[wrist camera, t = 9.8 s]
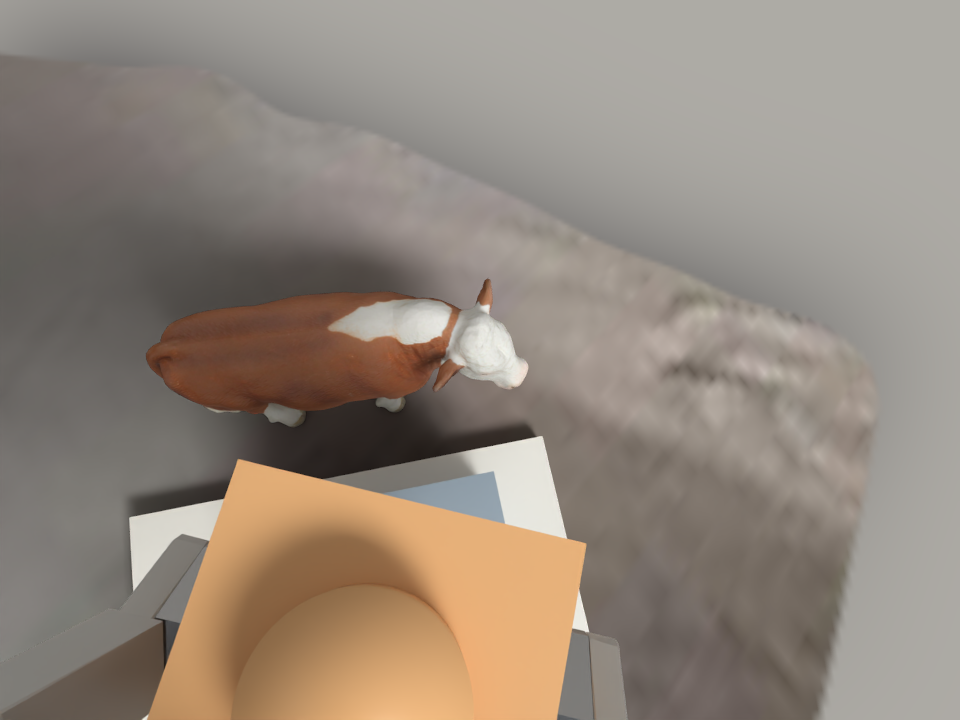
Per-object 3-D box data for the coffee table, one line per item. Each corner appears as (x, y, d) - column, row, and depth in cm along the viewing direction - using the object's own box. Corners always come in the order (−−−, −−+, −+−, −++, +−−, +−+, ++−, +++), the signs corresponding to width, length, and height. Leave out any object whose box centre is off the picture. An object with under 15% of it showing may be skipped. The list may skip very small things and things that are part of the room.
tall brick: (465, 741, 15) (522, 1041, 6) (281, 696, 15) (43, 927, 6) (506, 548, 16) (603, 542, 7) (337, 508, 16) (216, 448, 7)
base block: (311, 714, 23) (286, 750, 19) (288, 524, 25) (261, 518, 21) (519, 662, 24) (539, 685, 20) (482, 484, 26) (493, 470, 22)
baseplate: (172, 1064, 21) (160, 1088, 20) (140, 518, 26) (129, 517, 25) (649, 911, 23) (659, 927, 22) (538, 439, 28) (542, 436, 27)
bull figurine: (508, 430, 28) (542, 383, 20) (199, 435, 27) (109, 388, 19) (504, 338, 30) (534, 261, 22) (208, 339, 28) (128, 258, 20)
